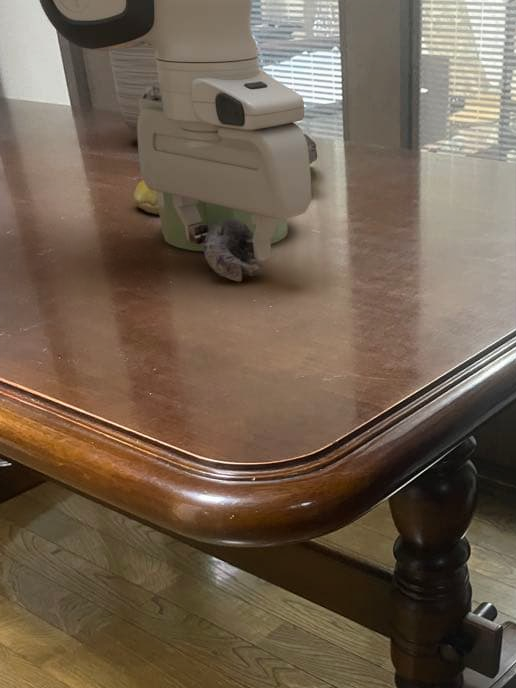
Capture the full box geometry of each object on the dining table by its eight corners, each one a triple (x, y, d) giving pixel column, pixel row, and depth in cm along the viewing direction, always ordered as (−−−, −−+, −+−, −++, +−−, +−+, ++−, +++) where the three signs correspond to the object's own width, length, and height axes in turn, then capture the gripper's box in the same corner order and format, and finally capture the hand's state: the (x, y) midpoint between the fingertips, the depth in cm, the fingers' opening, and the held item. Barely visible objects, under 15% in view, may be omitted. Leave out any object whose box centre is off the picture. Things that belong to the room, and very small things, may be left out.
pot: (138, 236, 97) (124, 154, 92) (230, 211, 106) (221, 135, 101) (222, 259, 90) (212, 172, 85) (312, 231, 99) (308, 150, 94)
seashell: (247, 298, 84) (228, 270, 92) (277, 250, 83) (255, 226, 91) (198, 268, 81) (183, 242, 89) (228, 217, 80) (210, 195, 88)
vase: (194, 159, 131) (159, -123, 112) (97, 145, 139) (48, -119, 120) (276, 137, 145) (257, -115, 126) (183, 126, 153) (152, -112, 134)
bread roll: (188, 195, 112) (184, 161, 110) (216, 210, 106) (212, 175, 104) (125, 203, 109) (119, 169, 106) (150, 219, 103) (144, 183, 100)
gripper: (110, 87, 82) (136, 238, 89) (265, 110, 71) (279, 278, 79) (164, 80, 86) (184, 225, 93) (318, 100, 75) (326, 262, 83)
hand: (228, 250), depth 86 cm, fingers closed on seashell, 7 cm apart
